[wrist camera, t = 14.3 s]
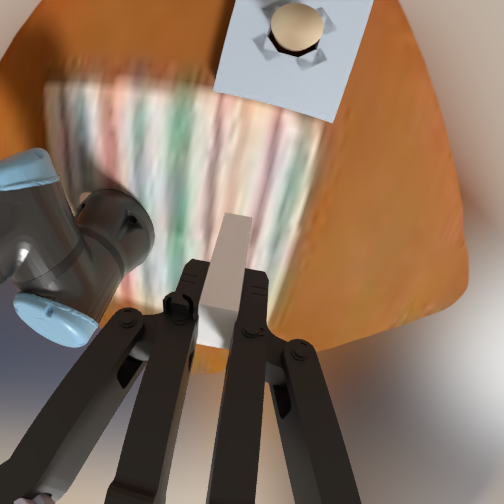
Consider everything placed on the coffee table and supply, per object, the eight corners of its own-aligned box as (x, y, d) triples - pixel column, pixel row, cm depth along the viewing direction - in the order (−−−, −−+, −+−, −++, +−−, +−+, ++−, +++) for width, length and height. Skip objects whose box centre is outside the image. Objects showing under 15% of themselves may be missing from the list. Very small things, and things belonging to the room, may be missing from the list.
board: (219, 87, 32) (213, 91, 29) (253, -37, 21) (250, -46, 18) (328, 117, 33) (332, 123, 30) (368, -5, 22) (376, -10, 19)
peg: (270, 46, 28) (263, 41, 19) (280, 15, 26) (277, -4, 16) (307, 56, 29) (317, 55, 19) (316, 25, 26) (331, 11, 16)
